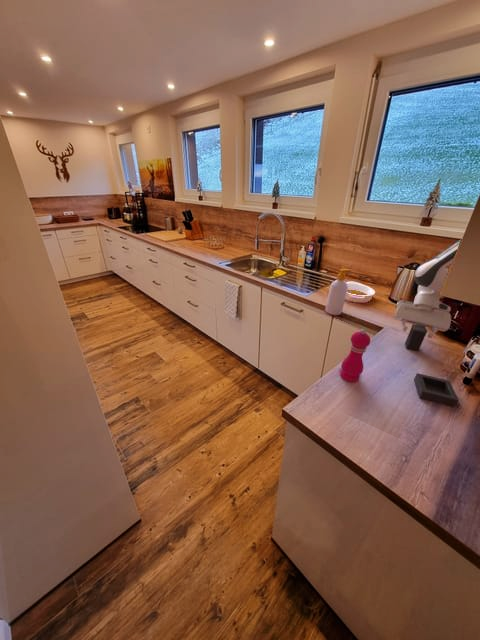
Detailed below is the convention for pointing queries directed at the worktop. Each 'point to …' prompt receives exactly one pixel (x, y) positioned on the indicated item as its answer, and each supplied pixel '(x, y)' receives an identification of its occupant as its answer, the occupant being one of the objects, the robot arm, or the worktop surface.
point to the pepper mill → (355, 357)
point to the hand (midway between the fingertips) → (416, 334)
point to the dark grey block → (415, 337)
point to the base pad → (435, 390)
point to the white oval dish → (361, 288)
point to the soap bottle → (337, 294)
